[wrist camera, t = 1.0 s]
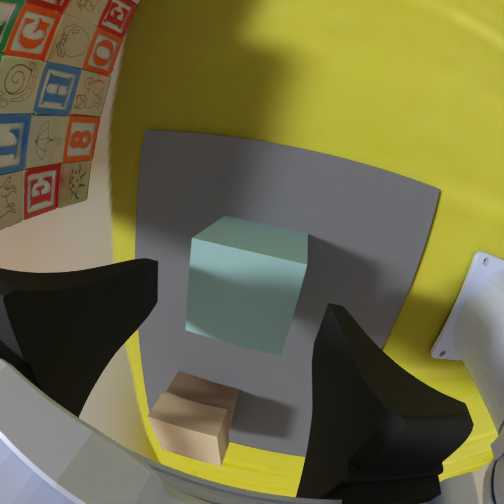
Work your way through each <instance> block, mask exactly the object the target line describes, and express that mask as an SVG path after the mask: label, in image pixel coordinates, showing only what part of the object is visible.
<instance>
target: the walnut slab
mask: <svg viewBox="0 0 504 504" xmlns="http://www.w3.org/2000/svg"><path fill="white" fill-rule="evenodd" d="M239 392H240V389H236V388H233V387H229V386H226V385H222V384H219V383H215V382H212V381H209V380H206V379H203V378H200V377H196V376H193V375H191V374H188V373H185V372H182V371H178V373H177V374H176V376H175V377H174V379H173V381H172V382H171V384H170V386H169V387H168V389H167V390H166V394H167V395H171V396H174V397H178V398H181V399H185V400H189V401H192V402H196V403H200V404H204V405H209V406H213V407H217V408H222V409H227V416H228V432H229V430H230V427H231V424H232V421H233V417H234V413H235V409H236V404H237V400H238V396H239Z"/></svg>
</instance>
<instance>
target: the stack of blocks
mask: <svg viewBox="0 0 504 504" xmlns="http://www.w3.org/2000/svg"><path fill="white" fill-rule="evenodd" d="M140 1H141V0H0V230H2V229H4V228H6V227H9V226H12V225H14V224H17V223H19V222H21V221H22V220H26V219H28V218H31V217H34V216H37V215H40V214H42V213H45V212H48V211H51V210H54V209H56V208H61V207H65V206H68V205H72V204H75V203H78V202H82V201H85V200H86V199H87V197H88V186H89V179H90V171H91V160H92V159H93V155H94V149H95V143H96V138H97V132H98V128H99V123H100V117H101V114H102V110H103V106H104V102H105V99H106V95H107V91H108V88H109V84H110V79H111V72H112V70H113V66H114V63H115V60H116V58H117V55H118V52H119V49H120V46H121V44H122V41H123V37H124V35H125V32H126V30H127V28H128V25H129V23H130V21H131V18H132V16H133V14H134V12H135V10H136V6H137V5H138V4H139V3H140Z"/></svg>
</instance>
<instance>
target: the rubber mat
mask: <svg viewBox="0 0 504 504" xmlns="http://www.w3.org/2000/svg"><path fill="white" fill-rule="evenodd" d="M439 192H440V189H438V188H435V187H433V186H430V185H427V184H425V183H422V182H419V181H416V180H414V179H411V178H408V177H405V176H402V175H399V174H396V173H393V172H390V171H387V170H383V169H380V168H377V167H373V166H370V165H367V164H363V163H359V162H356V161H352V160H348V159H345V158H341V157H337V156H333V155H329V154H324V153H320V152H316V151H311V150H306V149H302V148H297V147H292V146H287V145H281V144H276V143H270V142H264V141H258V140H251V139H245V138H237V137H230V136H221V135H212V134H203V133H191V132H178V131H161V130H145V131H144V138H143V146H142V154H141V162H140V172H139V183H138V195H137V212H136V239H135V259H140V258H148V259H152V260H156V261H158V302H157V304H156V305H155V307H154V309H153V310H152V312H151V313H150V315H149V316H148V317H147V319H146V320H145V321H144V322H143V323H142V324H141V325H140V327H139V328H138V332H139V343H140V352H141V361H142V369H143V376H144V383H145V389H146V395H147V401H148V407H149V412H150V411H151V410H152V408H153V407H154V405H155V403H156V402H157V400H158V399H159V397H160V395H161V394H162V393H164V394H166V390H167V389H168V387H169V386H170V384H171V382H172V381H173V379H174V377H175V376H176V374H177V373H178V371H182V372H185V373H188V374H191V375H193V376H196V377H200V378H203V379H206V380H209V381H212V382H215V383H219V384H222V385H226V386H229V387H233V388H236V389H240V392H239V396H238V400H237V404H236V409H235V413H234V417H233V421H232V424H231V427H230V430H229V442H232V443H236V444H240V445H244V446H248V447H252V448H257V449H262V450H266V451H272V452H277V453H283V454H289V455H295V456H303V457H306V452H307V447H308V441H309V434H310V427H311V420H312V355H313V346H314V341H315V339H316V336H317V333H318V331H319V328H320V325H321V322H322V320H323V317H324V314H325V311H326V308H327V305H328V303H331V304H336V305H341V306H343V307H344V308H345V309H346V310H347V311H348V312H349V313H350V314H351V316H352V317H353V318H354V319H355V321H356V322H357V323H358V324H359V325H360V327H361V328H362V329H363V330H364V331H365V333H366V334H367V335H368V336H369V337H370V338H371V339H372V341H373V342H374V343H375V344H376V345H377V346H378V347H379V348H380V349H382V347H383V345H384V343H385V341H386V339H387V337H388V335H389V333H390V331H391V329H392V327H393V325H394V323H395V321H396V318H397V316H398V314H399V312H400V309H401V307H402V305H403V303H404V300H405V298H406V295H407V293H408V291H409V288H410V286H411V283H412V280H413V278H414V275H415V273H416V270H417V267H418V264H419V261H420V259H421V256H422V253H423V250H424V247H425V244H426V240H427V237H428V234H429V230H430V227H431V224H432V220H433V216H434V213H435V209H436V205H437V201H438V196H439ZM224 216H230V217H234V218H239V219H244V220H249V221H253V222H258V223H263V224H267V225H272V226H276V227H281V228H285V229H290V230H294V231H299V232H303V233H307V234H308V255H307V268H306V272H305V275H304V279H303V283H302V286H301V290H300V294H299V297H298V301H297V304H296V308H295V311H294V314H293V318H292V321H291V325H290V328H289V331H288V334H287V338H286V341H285V344H284V347H283V350H282V354H281V356H278V355H274V354H269V353H265V352H261V351H257V350H253V349H249V348H245V347H242V346H238V345H234V344H230V343H227V342H223V341H220V340H216V339H213V338H210V337H206V336H203V335H200V334H196V333H193V332H190V331H187V330H186V309H187V293H188V278H189V265H190V254H191V243H192V238H193V237H194V236H196V235H197V234H199V233H200V232H202V231H203V230H204V229H206V228H207V227H209V226H210V225H212V224H213V223H215V222H216V221H218V220H219V219H221V218H222V217H224Z"/></svg>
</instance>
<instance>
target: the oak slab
mask: <svg viewBox="0 0 504 504" xmlns="http://www.w3.org/2000/svg"><path fill="white" fill-rule="evenodd" d="M148 418H149V421H150V423H151V426H152V428H153V430H154V432H155V435H156V437H157V439H158V441H159V443H160V446H161V448H162V449H164V450H167V451H170V452H173V453H176V454H179V455H182V456H185V457H189V458H192V459H195V460H199V461H203V462H207V463H210V464H215V465H219V466H221V465H222V462H223V459H224V457H225V454H226V451H227V448H228V445H229V432H228V416H227V409H222V408H217V407H213V406H209V405H204V404H200V403H196V402H192V401H189V400H185V399H181V398H178V397H174V396H171V395H167V394H164V393H162V394H161V395H160V397H159V399H158V400H157V402H156V403H155V405H154V407H153V408H152V410H151V411H150V413H149V415H148Z"/></svg>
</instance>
